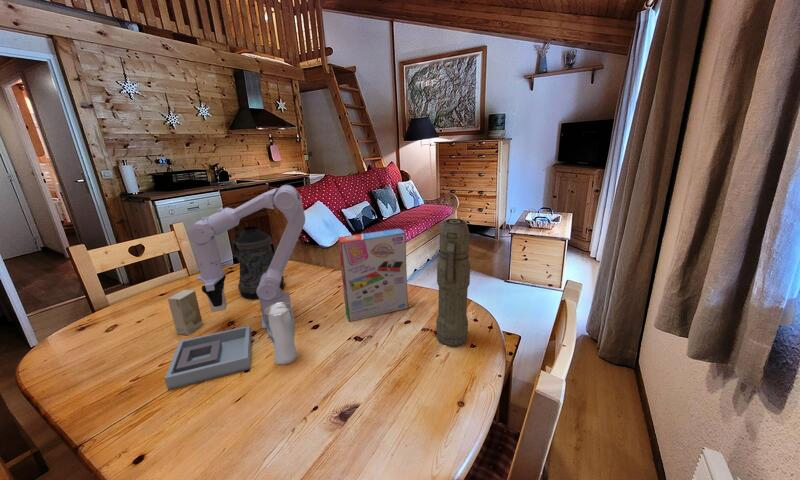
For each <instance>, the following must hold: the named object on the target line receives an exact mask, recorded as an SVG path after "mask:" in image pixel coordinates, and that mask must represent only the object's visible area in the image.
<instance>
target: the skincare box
mask: <svg viewBox="0 0 800 480" xmlns="http://www.w3.org/2000/svg"><path fill="white" fill-rule="evenodd" d="M167 301H168V302H167V303H168V306H169V310H170V312H171V313H170V314H171V316H172V320H173V324H174V328H175V332H176V334H177V335H186V336H188V335H190V334H192V333H193V332H195V331H197V329H199V328H201V326H203V325H204V322H203V319H202V315H201V310H200V306H199V302H198V298H197V293H196V290H191V289H183V290H181V291H178V292H177V293H175V294H173V295H172V296H170V297H168V298H167Z"/></svg>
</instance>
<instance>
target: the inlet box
mask: <svg viewBox="0 0 800 480" xmlns="http://www.w3.org/2000/svg"><path fill="white" fill-rule="evenodd" d="M252 337H253V336H252V331H251V326H250V325H245V326H241V327H237V328H236V327H235V328H231V329H228V330H223V331H217V332H214V333H208V334H205V335H200V336H196V337H190V338H186V339H182V340H181V339H180V340H179V342H178V343H177V346H176V349H175V351H174V354H173V356H172V358H171V362H170V364H169V367H168V369H167V372H166V374H165V376H164V381H165V384H166V387H167V390H168V391H171V390H175V389H179V388H182V387H187V386H191V385H194V384H199V383H201V382H205V381H209V380H213V379H217V378H221V377H224V376H225V377H226V376H229V375H232V374H237V373H240V372H243V371H248V370H251V360H252V359H251V358H252V355H251V354H252V340H253V339H252Z"/></svg>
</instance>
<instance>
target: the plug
mask: <svg viewBox="0 0 800 480" xmlns="http://www.w3.org/2000/svg"><path fill="white" fill-rule="evenodd" d="M207 299H208V303H209V307H210V311H211V313H212V314H213V313H216V312H223V311H226V310H227V306H228V303H227V299H226V295H225V289H224V290H223V289H222V305H221V306H217V307H214V306H213V304H212V302H211V300H210V299H209V297H208V296H207Z"/></svg>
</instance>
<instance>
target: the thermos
mask: <svg viewBox="0 0 800 480" xmlns="http://www.w3.org/2000/svg"><path fill="white" fill-rule="evenodd" d="M469 249H470V231H469V227H468V222H467V221H466V220H464V219H460V218H448V219H446V220H444V221H443V222H442V224H441V227H440V230H439V256H438V257H439V258H438V261H437V264H436V283H437V285H438V304H437V305H438V306H437V307H438V311H437V312H438V313H437V314H438V315H437V317H436V324H435V325H436V327H435V328H436V329H435V330H436V339H438V340H437V342H439V344H441V345H442V346H444V345H446V346H445V347H448V346H450V347H449V348H458V346H459V347H462V346H464V345H465V344H466V343H467V341H468V333H469V319H468V316H467V314H468V313H467V312H468V289H469V286H470V284H471V283H470V281H471V280H470V279H471V263H470V260H469V253H468V252H469ZM463 344H464V345H463ZM461 345H462V346H461Z"/></svg>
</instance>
